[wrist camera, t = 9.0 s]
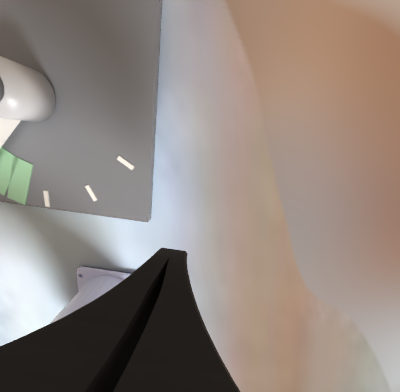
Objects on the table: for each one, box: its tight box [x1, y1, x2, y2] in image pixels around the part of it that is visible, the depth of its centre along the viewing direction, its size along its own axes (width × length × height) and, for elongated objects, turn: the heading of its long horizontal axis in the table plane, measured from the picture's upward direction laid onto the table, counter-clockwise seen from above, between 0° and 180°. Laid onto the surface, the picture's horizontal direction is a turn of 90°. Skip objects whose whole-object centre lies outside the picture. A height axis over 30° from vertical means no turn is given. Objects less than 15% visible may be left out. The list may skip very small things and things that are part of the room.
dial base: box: [0, 0, 162, 222], centre depth 16 cm, size 18×22×1 cm
